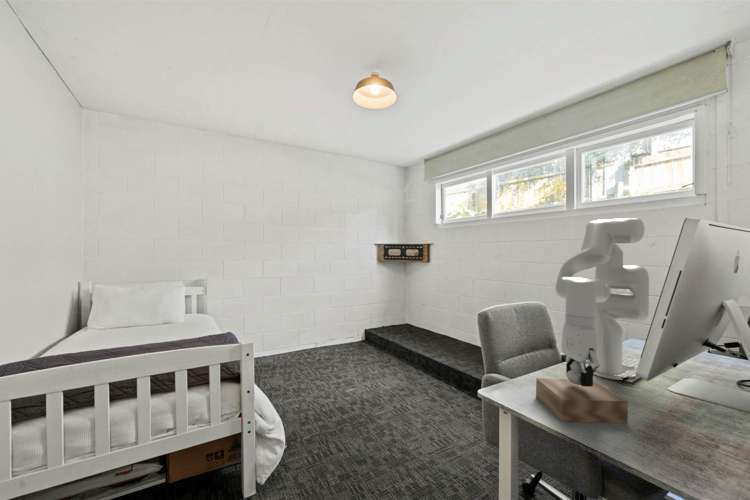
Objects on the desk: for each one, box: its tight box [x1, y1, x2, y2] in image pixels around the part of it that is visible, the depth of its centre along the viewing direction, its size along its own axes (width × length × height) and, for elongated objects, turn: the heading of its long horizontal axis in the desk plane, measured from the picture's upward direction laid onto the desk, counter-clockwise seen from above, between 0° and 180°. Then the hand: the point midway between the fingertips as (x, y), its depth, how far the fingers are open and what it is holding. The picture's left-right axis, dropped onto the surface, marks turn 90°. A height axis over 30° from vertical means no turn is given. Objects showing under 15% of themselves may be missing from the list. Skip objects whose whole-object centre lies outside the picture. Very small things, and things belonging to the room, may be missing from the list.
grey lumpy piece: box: [566, 361, 583, 385], centre depth 92 cm, size 5×7×8 cm
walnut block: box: [535, 377, 629, 424], centre depth 92 cm, size 18×14×6 cm
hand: (579, 380), depth 92 cm, fingers closed on grey lumpy piece, 5 cm apart
